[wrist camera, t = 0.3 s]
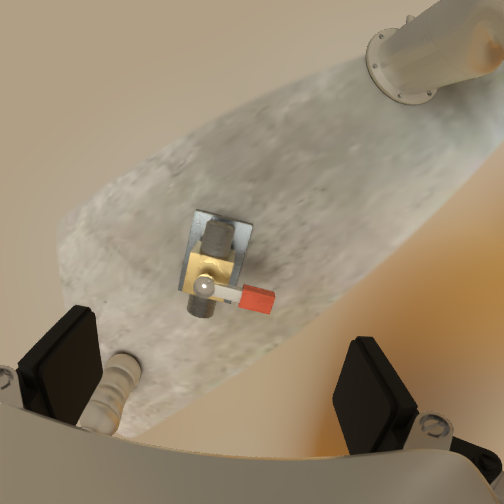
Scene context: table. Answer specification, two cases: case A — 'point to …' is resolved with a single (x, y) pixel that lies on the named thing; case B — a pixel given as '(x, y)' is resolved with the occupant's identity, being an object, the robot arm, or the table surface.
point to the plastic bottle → (111, 395)
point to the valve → (213, 257)
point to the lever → (235, 294)
